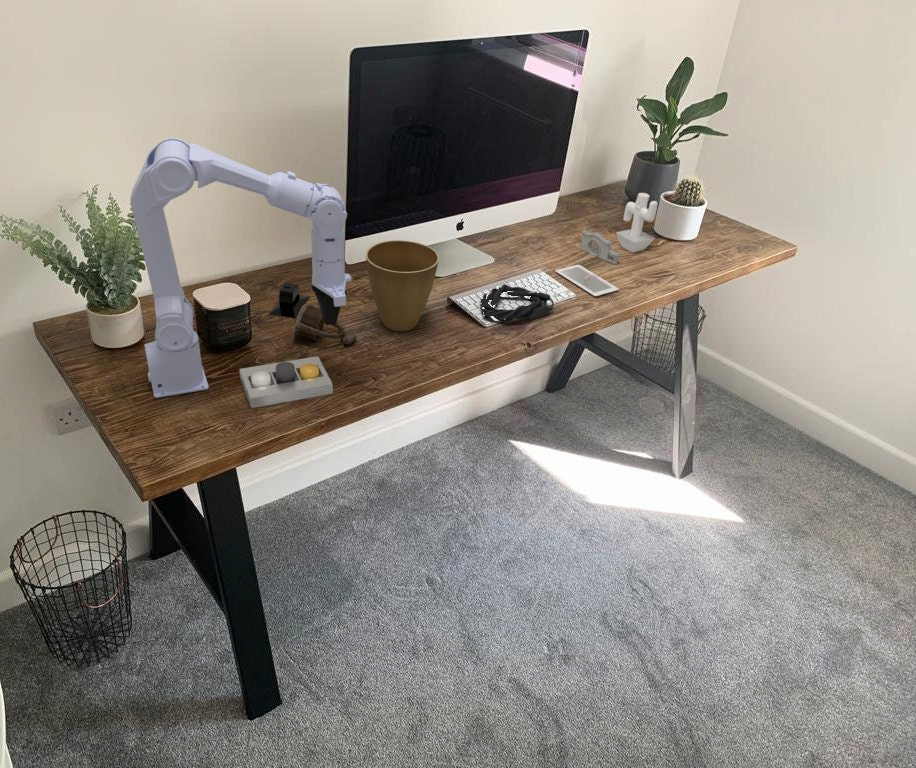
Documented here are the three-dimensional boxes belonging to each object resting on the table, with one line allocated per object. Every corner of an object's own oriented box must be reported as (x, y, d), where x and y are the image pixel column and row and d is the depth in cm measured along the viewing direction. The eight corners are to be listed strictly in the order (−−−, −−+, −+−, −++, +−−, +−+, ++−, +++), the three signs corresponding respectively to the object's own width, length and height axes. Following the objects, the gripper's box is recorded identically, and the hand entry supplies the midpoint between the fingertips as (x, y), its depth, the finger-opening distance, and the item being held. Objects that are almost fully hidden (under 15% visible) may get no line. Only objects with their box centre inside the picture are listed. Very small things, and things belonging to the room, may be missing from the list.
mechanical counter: (314, 296, 169) (281, 304, 161) (363, 308, 164) (333, 317, 155) (312, 328, 172) (281, 338, 163) (361, 342, 166) (331, 353, 158)
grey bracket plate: (618, 264, 205) (622, 242, 202) (614, 265, 204) (618, 244, 201) (582, 247, 212) (586, 226, 209) (578, 249, 211) (581, 228, 208)
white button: (254, 396, 147) (253, 383, 145) (250, 386, 149) (249, 373, 147) (273, 393, 148) (272, 379, 146) (269, 383, 150) (268, 370, 149)
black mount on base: (284, 291, 182) (283, 272, 179) (317, 296, 181) (316, 277, 179) (262, 319, 171) (261, 299, 169) (297, 324, 170) (296, 304, 168)
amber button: (303, 388, 150) (302, 374, 148) (298, 378, 152) (298, 365, 151) (321, 384, 151) (320, 371, 149) (316, 375, 154) (315, 362, 152)
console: (251, 408, 144) (250, 398, 142) (240, 378, 151) (239, 368, 150) (332, 393, 149) (332, 383, 148) (318, 365, 157) (318, 356, 155)
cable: (501, 333, 172) (503, 315, 170) (461, 306, 181) (462, 289, 179) (559, 313, 182) (561, 296, 179) (518, 289, 190) (520, 272, 188)
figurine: (630, 239, 219) (640, 185, 211) (655, 252, 213) (667, 198, 204) (610, 243, 215) (620, 189, 207) (635, 257, 209) (646, 202, 201)
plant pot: (353, 330, 169) (352, 261, 160) (384, 301, 180) (385, 234, 171) (418, 347, 165) (421, 277, 156) (445, 316, 176) (450, 249, 167)
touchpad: (594, 300, 189) (596, 292, 187) (553, 274, 199) (555, 266, 197) (618, 293, 192) (620, 285, 191) (577, 268, 202) (579, 260, 201)
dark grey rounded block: (278, 386, 148) (277, 373, 146) (274, 377, 150) (273, 363, 148) (297, 383, 149) (296, 370, 147) (292, 374, 151) (291, 360, 150)
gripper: (362, 270, 139) (362, 338, 146) (338, 237, 149) (339, 302, 157) (322, 275, 136) (324, 344, 144) (301, 241, 147) (304, 306, 154)
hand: (330, 322), depth 150 cm, fingers closed
